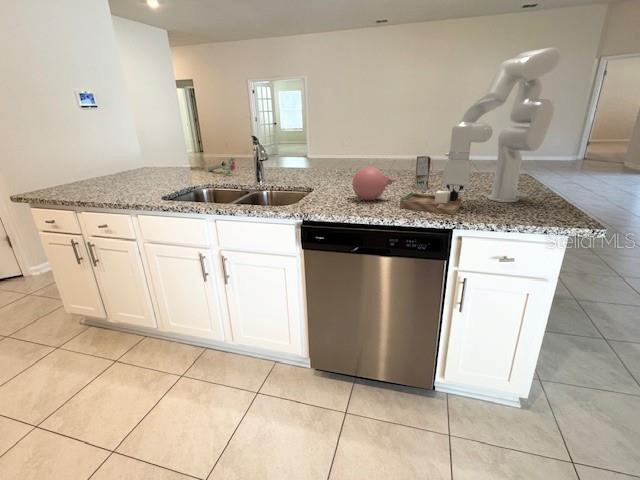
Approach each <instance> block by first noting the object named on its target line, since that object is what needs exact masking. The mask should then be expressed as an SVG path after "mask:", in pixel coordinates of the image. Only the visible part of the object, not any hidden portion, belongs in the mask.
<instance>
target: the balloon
mask: <svg viewBox="0 0 640 480" xmlns="http://www.w3.org/2000/svg"><path fill="white" fill-rule="evenodd" d="M351 182H352V186H351V187H352V190H353V192H354V194H355V195H356V196H357V197H358V198H359V199H362V200H364V201H373V200H376V199H378V198H380V197H381V195H383V193H384V191H385V190H386V187H387V186H389V185H391V186H392V184H393V183H396V182H397V179H395V178H393V176H392V175H389V176H388V175H385V174H384V173H383V171H381V170H380V169H378V168H377V167H374V166H365V167H362V168H360V169H359V170H358V171H357V172H356V173H355V174H354V176H353V178H352V181H351Z"/></svg>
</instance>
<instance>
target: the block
mask: <svg viewBox="0 0 640 480" xmlns="http://www.w3.org/2000/svg"><path fill="white" fill-rule="evenodd" d="M434 195H435V202H439V203H448V202H449V200H450V190H437V191H436V192H435V194H434Z"/></svg>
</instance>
